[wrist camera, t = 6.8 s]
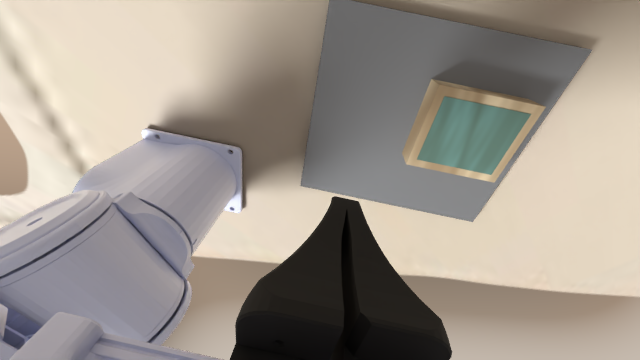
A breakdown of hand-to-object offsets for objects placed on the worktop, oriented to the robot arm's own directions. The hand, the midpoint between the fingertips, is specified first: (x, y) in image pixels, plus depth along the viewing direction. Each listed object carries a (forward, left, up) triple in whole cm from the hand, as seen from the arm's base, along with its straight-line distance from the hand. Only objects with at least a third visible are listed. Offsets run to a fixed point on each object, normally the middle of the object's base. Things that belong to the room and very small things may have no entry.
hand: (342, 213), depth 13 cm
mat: (+5, +2, -10) cm, 12 cm away
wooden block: (+5, +3, -9) cm, 10 cm away
